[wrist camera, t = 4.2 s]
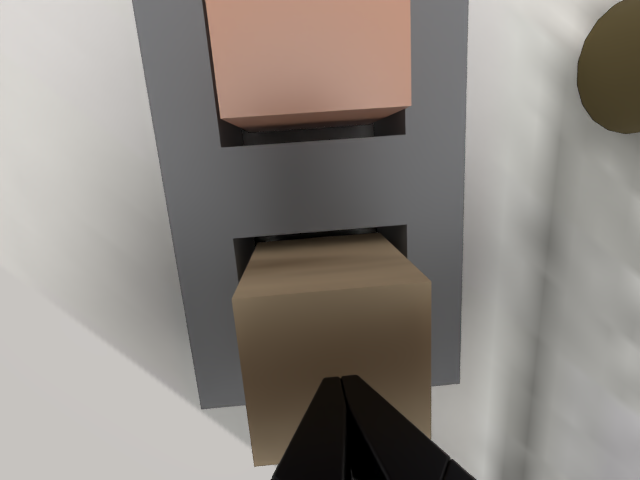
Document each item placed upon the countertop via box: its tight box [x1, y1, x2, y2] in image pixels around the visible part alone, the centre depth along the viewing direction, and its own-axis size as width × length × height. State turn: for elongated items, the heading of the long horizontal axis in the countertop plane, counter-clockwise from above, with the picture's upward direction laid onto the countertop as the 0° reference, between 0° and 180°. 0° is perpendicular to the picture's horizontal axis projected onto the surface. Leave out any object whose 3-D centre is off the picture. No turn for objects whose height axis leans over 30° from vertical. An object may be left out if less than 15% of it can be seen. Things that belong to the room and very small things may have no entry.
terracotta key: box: [205, 0, 411, 133], centre depth 11 cm, size 5×5×6 cm
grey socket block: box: [132, 0, 468, 409], centre depth 14 cm, size 16×10×5 cm, turn 4°
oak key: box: [232, 233, 431, 467], centre depth 12 cm, size 5×5×6 cm
